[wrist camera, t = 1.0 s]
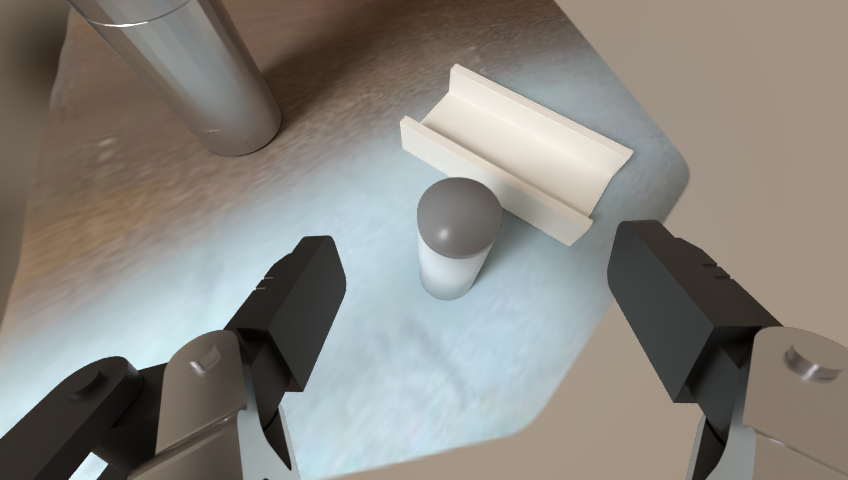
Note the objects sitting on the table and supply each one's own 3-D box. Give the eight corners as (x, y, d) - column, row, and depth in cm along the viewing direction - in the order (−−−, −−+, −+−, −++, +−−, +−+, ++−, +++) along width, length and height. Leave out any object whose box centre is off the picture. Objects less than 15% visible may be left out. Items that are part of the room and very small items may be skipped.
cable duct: (402, 148, 36) (399, 122, 32) (453, 93, 39) (456, 63, 35) (569, 247, 31) (588, 229, 27) (610, 175, 34) (633, 151, 30)
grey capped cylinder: (409, 279, 30) (399, 222, 19) (440, 239, 31) (448, 163, 20) (454, 311, 29) (473, 270, 18) (484, 267, 30) (518, 204, 19)
